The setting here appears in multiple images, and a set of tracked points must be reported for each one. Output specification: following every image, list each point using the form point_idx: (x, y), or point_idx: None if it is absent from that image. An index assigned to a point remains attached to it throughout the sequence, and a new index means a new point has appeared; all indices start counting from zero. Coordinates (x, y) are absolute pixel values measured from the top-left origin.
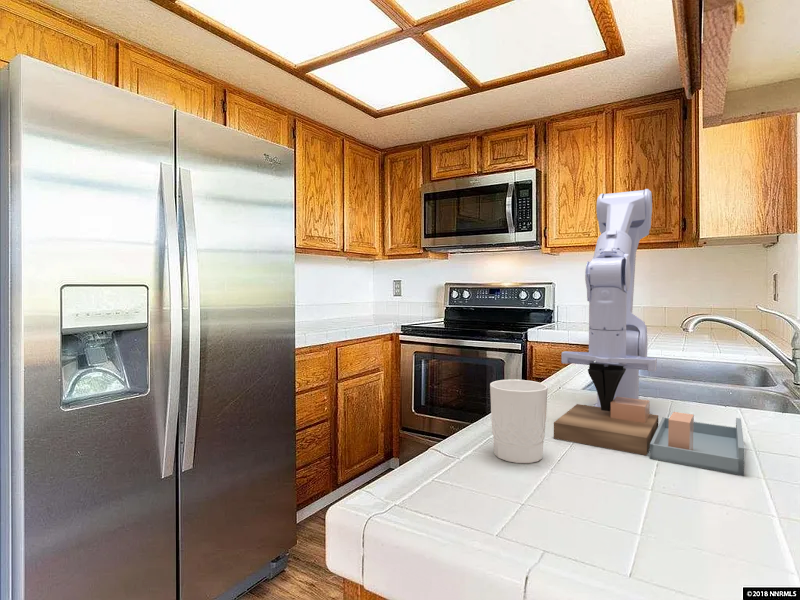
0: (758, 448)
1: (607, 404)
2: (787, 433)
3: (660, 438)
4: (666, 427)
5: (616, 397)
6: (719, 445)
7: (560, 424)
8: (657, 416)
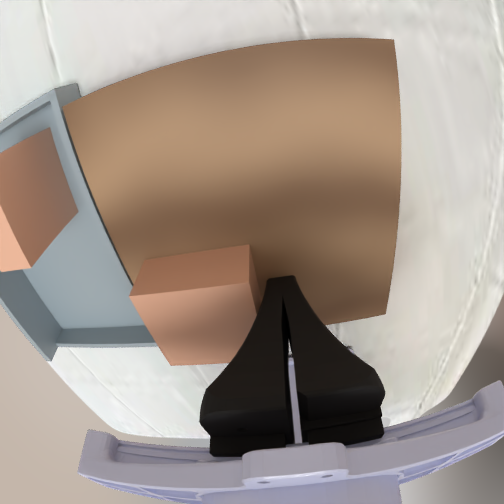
0: None
1: (272, 291)
2: (68, 382)
3: None
4: None
5: None
6: (44, 276)
7: (367, 38)
8: None
